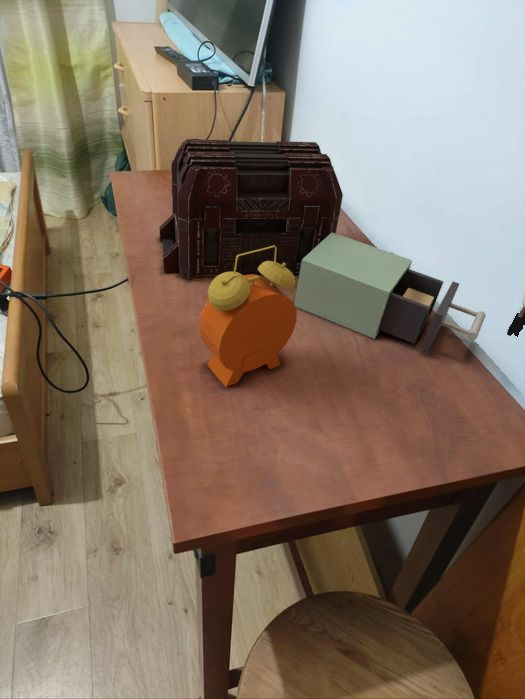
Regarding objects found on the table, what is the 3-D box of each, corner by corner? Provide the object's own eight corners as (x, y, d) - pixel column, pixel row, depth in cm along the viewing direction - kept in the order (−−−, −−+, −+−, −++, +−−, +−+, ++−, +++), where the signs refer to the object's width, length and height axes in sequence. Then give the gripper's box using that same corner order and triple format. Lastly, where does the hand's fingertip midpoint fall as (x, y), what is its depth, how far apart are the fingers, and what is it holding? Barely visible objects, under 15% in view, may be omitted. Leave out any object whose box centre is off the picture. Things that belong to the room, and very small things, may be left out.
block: (425, 318, 89) (434, 297, 86) (418, 331, 86) (427, 309, 83) (401, 309, 91) (408, 287, 88) (392, 321, 88) (400, 299, 85)
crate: (317, 230, 115) (333, 134, 102) (344, 273, 100) (367, 168, 87) (159, 233, 107) (154, 129, 94) (164, 280, 93) (159, 166, 80)
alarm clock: (267, 340, 83) (283, 229, 71) (289, 362, 80) (310, 250, 67) (196, 366, 77) (199, 249, 64) (217, 391, 73) (224, 273, 60)
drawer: (477, 332, 90) (494, 295, 85) (462, 368, 82) (481, 330, 77) (369, 291, 96) (379, 255, 91) (346, 320, 88) (356, 283, 83)
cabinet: (397, 304, 95) (412, 260, 89) (374, 339, 87) (389, 292, 80) (322, 276, 100) (331, 232, 94) (293, 305, 92) (301, 259, 85)
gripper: (603, 263, 62) (535, 371, 74) (607, 220, 73) (546, 321, 85) (540, 243, 65) (484, 351, 77) (552, 204, 75) (501, 305, 87)
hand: (517, 335), depth 81 cm, fingers closed
